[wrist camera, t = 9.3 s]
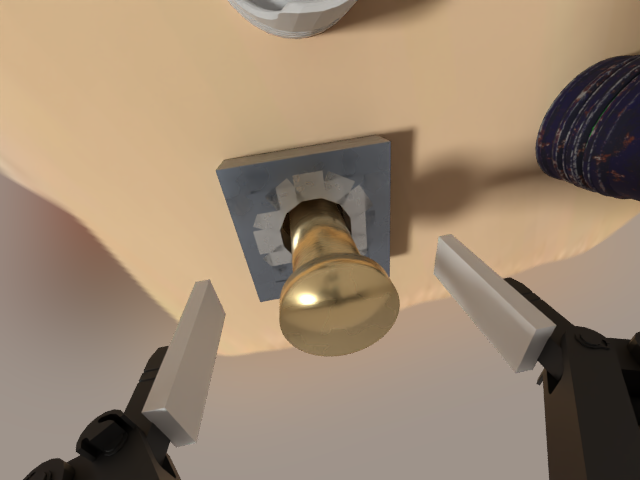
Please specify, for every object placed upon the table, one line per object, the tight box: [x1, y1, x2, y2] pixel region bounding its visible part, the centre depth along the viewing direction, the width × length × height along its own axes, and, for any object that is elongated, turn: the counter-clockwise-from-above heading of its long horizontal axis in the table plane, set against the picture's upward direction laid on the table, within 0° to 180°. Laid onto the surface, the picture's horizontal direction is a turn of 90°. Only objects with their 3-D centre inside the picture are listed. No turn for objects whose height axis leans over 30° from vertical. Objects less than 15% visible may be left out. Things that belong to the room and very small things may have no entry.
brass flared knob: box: [280, 198, 400, 356], centre depth 18 cm, size 6×6×12 cm
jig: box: [216, 135, 391, 302], centre depth 22 cm, size 12×12×3 cm
